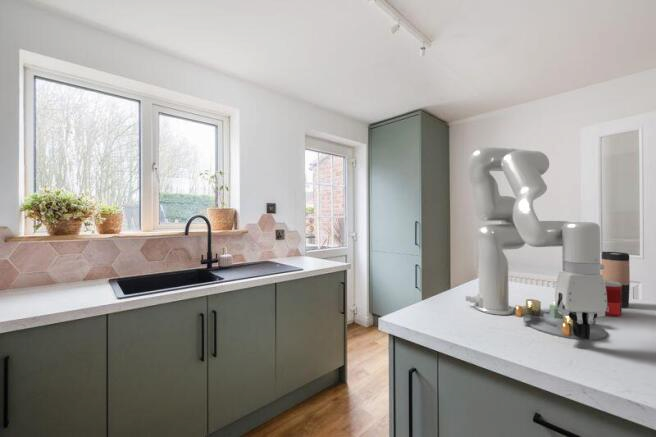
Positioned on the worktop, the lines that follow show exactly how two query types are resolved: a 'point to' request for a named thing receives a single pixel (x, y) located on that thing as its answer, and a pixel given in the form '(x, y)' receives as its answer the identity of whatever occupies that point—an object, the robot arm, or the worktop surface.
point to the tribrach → (559, 324)
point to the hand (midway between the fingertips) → (581, 337)
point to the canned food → (613, 298)
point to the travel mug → (617, 272)
